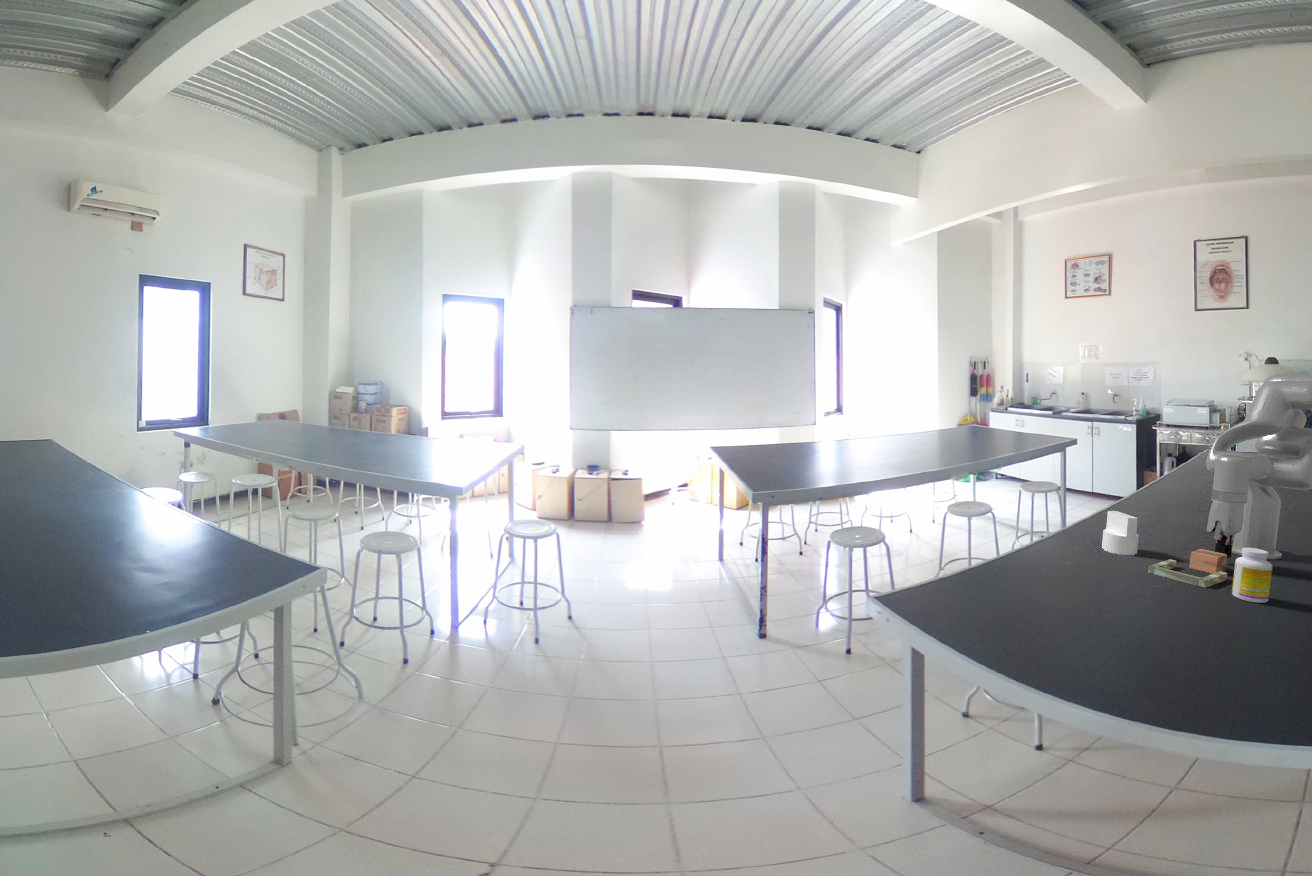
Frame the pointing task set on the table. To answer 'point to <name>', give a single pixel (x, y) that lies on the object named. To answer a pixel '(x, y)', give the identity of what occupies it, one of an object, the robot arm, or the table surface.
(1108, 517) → the base with upright slab
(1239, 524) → the robot arm
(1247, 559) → the supplement bottle
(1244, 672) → the table surface
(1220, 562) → the terracotta block
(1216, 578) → the walled lane
